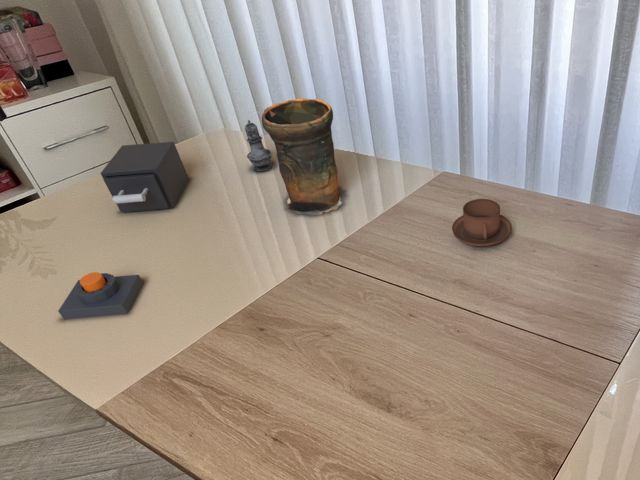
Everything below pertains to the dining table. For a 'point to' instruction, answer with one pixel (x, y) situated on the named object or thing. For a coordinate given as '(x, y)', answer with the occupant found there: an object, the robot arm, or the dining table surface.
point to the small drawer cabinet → (152, 166)
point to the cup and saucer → (481, 224)
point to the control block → (102, 298)
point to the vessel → (305, 153)
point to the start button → (92, 281)
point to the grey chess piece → (257, 150)
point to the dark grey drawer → (137, 192)
